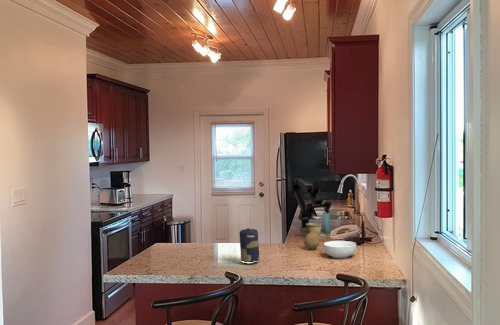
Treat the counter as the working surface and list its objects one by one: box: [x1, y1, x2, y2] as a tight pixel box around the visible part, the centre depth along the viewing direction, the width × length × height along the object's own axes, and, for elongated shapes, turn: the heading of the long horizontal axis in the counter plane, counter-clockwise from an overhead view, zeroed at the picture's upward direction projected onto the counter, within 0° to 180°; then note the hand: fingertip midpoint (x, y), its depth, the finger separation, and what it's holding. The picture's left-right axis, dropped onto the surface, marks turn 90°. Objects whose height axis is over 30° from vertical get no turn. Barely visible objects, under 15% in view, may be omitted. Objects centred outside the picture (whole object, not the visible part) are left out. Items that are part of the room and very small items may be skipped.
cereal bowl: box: [323, 240, 357, 259], centre depth 224 cm, size 17×17×7 cm
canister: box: [239, 227, 260, 262], centre depth 221 cm, size 10×10×18 cm
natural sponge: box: [303, 232, 321, 251], centre depth 245 cm, size 9×9×10 cm
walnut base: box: [294, 228, 308, 237], centre depth 295 cm, size 12×12×4 cm
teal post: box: [322, 212, 331, 235], centre depth 293 cm, size 4×4×14 cm
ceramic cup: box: [306, 222, 323, 239], centre depth 277 cm, size 13×10×10 cm
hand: (322, 215), depth 298 cm, fingers open, 9 cm apart
